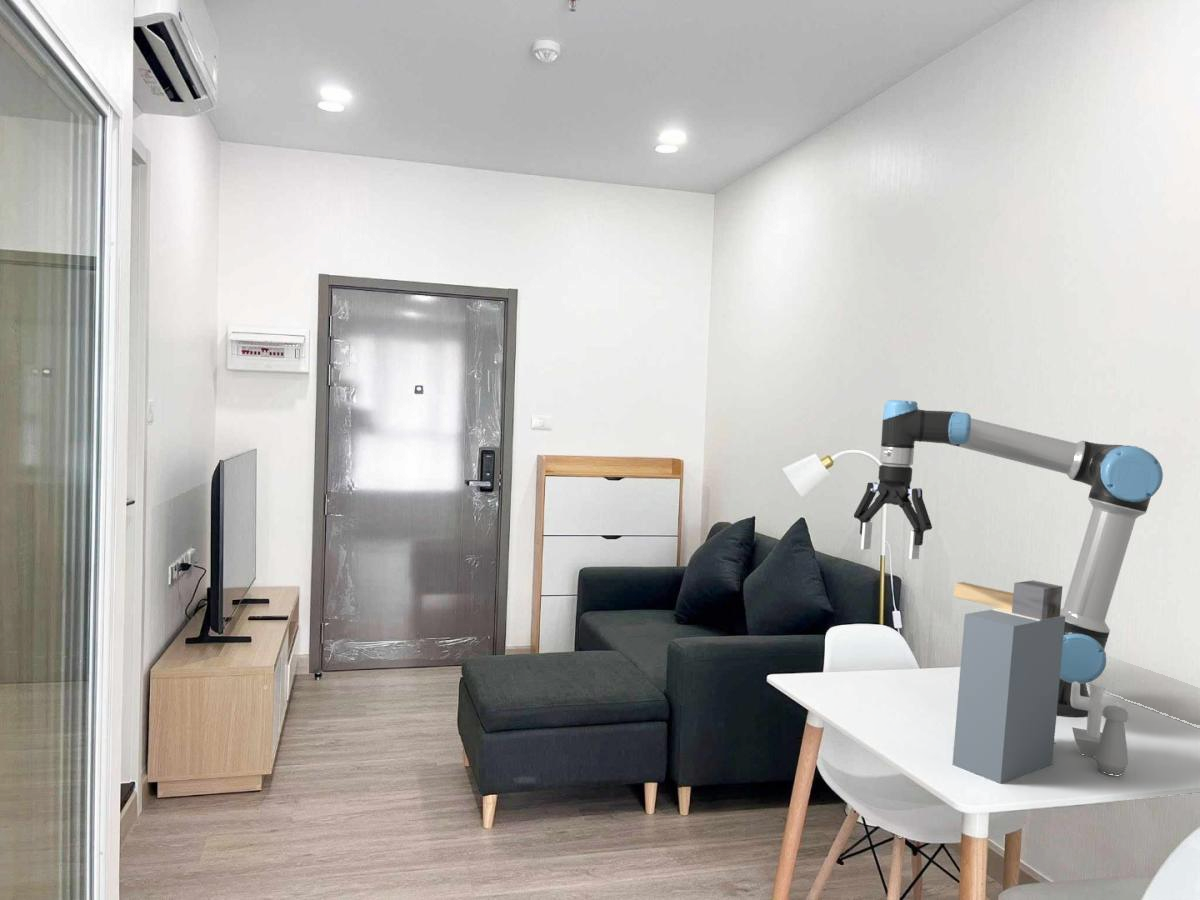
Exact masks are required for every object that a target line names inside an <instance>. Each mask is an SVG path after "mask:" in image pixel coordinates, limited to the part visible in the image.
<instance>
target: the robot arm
mask: <svg viewBox="0 0 1200 900" xmlns="http://www.w3.org/2000/svg"><path fill="white" fill-rule="evenodd" d="M881 426H882V427H881V439H880V440H881V441H880V442H881V444H880V452H879V453H880V454H879V455H880V456H879V462H880V465H879V466H878V467H879V468H878V478H877V479H878V480H879V483H878V482H867V485H866V491H865V493H864V494H863V496H862V498H861V500H860V503H859V504H858V506H857V508H856V509H855V512H854V515H853V517H854V519H857V520H859V522H860V527H859V534H860V535H861V541H860V542H861V543H860V550H871V546H872V545H871V544H872V532H873V522H871V521H872V519H873V517H874V516H875V515H876V514H877V513H878V512H879V510H881V509H882V507H883V506H884V505H885V504H887V505H888V504H889V505H894V506H898V507H900V509H902V511H903V512H904V515H905V516H906V518H907V519H908V522H909V523H910V525H911V526H912V528H913V530H911V531H910V537H909V538H910V540H909V551H908V552H909V553H908V559H909V560H918V559H920V546H922V545H923V543H924V533H925V531H930V530H932V528H933V525H932V522H931V520H930V516H929V514H928V510H927V507H926V504H925V502H924V498H923V489H922V488H921V487H920V488H917V487H915V488H914V487H913V488H911V483H912V480H913V479H912V478H913V468H912V467H911V465H914V455H915V453H914V452H915V443H916V442H920V443H921V442H923V443H933V444H934V443H936V444H945V445H946V444H947V445H950V446H954V447H959V448H963V449H966V450H970V451H975V452H979V453H983V454H986V455H990V456H994V457H998V458H1002V459H1006V460H1010V461H1014V462H1018V463H1021V464H1026V465H1030V466H1034V467H1038V468H1041V469H1046V470H1050V471H1054V472H1057V473H1061V474H1064V475H1065V474H1066V475H1067V477H1068V478H1069V480H1071V481H1076V482H1079V483H1083V484H1085V485H1087V486H1089V487H1090V491H1089V494H1088V497H1087V499H1088V501H1089V502H1090V504H1091V505H1092V511H1091V513H1090V514H1091V515H1090V517H1089V521H1088V524H1087V528H1086V531H1085V534H1084V538H1083V541H1082V544H1081V548H1080V551H1079V554H1078V558H1077V561H1076V564H1075V568H1074V571H1073V574H1072V578H1071V581H1070V584H1069V587H1068V591H1067V593H1066V598H1065V601H1064V603H1063V607H1062V608H1061V609H1060V615H1063V616H1065V625H1064V637H1063V648H1062V659H1061V670H1060V681H1059V693H1058V704H1057V715H1058V716H1063V717H1085V715H1086V716H1088V711H1086V710H1081V709H1075V708H1073V707H1072V706H1071V703H1070V697H1071V686H1072V683H1073V682H1078V683H1080V696H1084V697H1089V696H1090V693H1089V691H1088V690H1089V689H1088V687H1087V684H1088V683H1090V682H1092V681H1096V679H1098V678H1099V677H1100V676H1101V675H1102V674H1103V673H1104V671H1105V668H1106V665H1107V654H1106V651H1105V649H1106V646H1107V642H1108V638H1109V636H1110V631H1111V630H1110V628H1109V626H1108V624H1107V623H1106V619H1107V615H1108V612H1109V608H1110V606H1111V605H1110V604H1111V602H1112V599H1113V595H1114V592H1115V589H1116V585H1117V582H1118V579H1119V575H1120V572H1121V569H1122V566H1123V563H1124V559H1125V556H1126V552H1127V550H1128V547H1129V542H1130V540H1131V536H1132V532H1133V529H1134V526H1135V524H1136V520H1137V519H1138V518H1139V517H1141V516H1143V515H1145V514H1147V510H1148V507H1149V505H1150V501H1151V498H1152V497H1153V496H1154V495H1155V494H1156V493H1157V492H1158V490H1159V489H1160V487H1161V485H1162V483H1163V477H1164V474H1163V468H1162V465H1161V463H1160V462H1159V461H1158V459H1157V458H1156V456H1155V455H1153V453H1152V452H1151V453H1150V452H1149V451H1148V450H1146V449H1144V448H1142V447H1140V446H1136V445H1135V446H1134V445H1130V444H1129V445H1123V444H1103V443H1097V442H1096V443H1095V442H1090V441H1088V440H1087V441H1086V440H1080V441H1078V442H1072V441H1068V440H1065V439H1064V440H1063V439H1060V438H1055V437H1050V436H1048V435H1042V434H1039V433H1036V432H1031V431H1026V430H1022V429H1018V428H1014V427H1009V426H1005V425H1000V424H996V423H992V422H988V421H984V420H981V419H980V420H979V419H975V418H972V417H971V415H970V414H969V413H967V412H960V411H950V410H949V411H947V410H925V409H919V407H918V402H917V401H914V400H899V399H898V400H897V399H890V400H887V401H886V402H885V403H884V407H883V416H882V425H881ZM881 463H882V464H881ZM877 493H878V496H876V494H877ZM909 496H910V497H911V500H910V498H909ZM874 498H875V499H874ZM873 500H874V501H873ZM871 503H872V504H871ZM1057 715H1056V716H1057Z"/></svg>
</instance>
